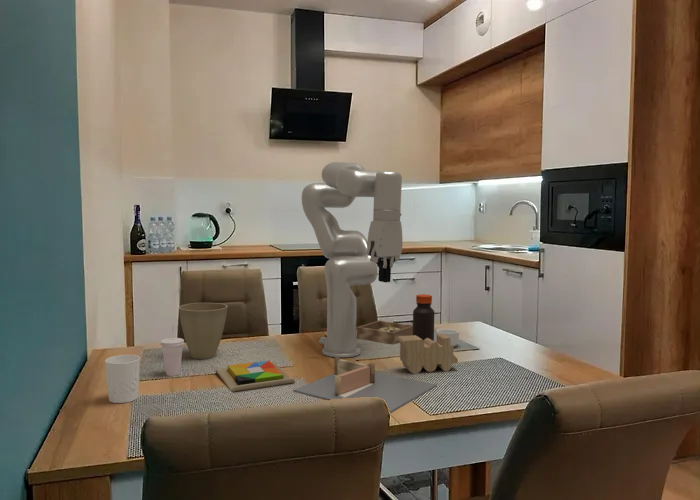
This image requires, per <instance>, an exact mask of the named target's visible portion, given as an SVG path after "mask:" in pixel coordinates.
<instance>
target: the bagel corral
mask: <svg viewBox="0 0 700 500" xmlns="http://www.w3.org/2000/svg"><path fill="white" fill-rule="evenodd" d="M389 325H391V327H392V328H393V327H394V328H399V329H400V330H397V331H395V332H388V331H382V330H378V329H379V328H387V327H388V326H389ZM399 336H413V324H406V323H400V322H392V321H386V320H381V319H380V320H376V321H373V322H369V323H367V324H366V323H365V324H363V325H359V326H356V339H360V340H365V341H371V342H372V341H373V342H378V343H384V344H389V345H396V344H398V343H399V342H398V340H397V337H399Z"/></svg>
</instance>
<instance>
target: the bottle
mask: <svg viewBox="0 0 700 500" xmlns="http://www.w3.org/2000/svg"><path fill="white" fill-rule="evenodd" d="M415 297H416V298H415V302H416V307H415V308H414V309H413V311H412V325H413V335H416V336H418V337H419V338H421V339H422V340H425V339H426V338H429V339H431V340H432V341H434V342H435V310H434V309H433V308H432V303H433V296H432V294H431V295H430V294H425V293H424V294H423V293H421V294H416V296H415Z"/></svg>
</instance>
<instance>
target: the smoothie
mask: <svg viewBox="0 0 700 500" xmlns="http://www.w3.org/2000/svg"><path fill="white" fill-rule="evenodd" d="M175 326H176V325H175V324H172V337H170V338H163V339H162V340H160V346H161V349H162V350H161V351H162V355H163V363H164V368H165V369H164V370H165V376H168V377H175V376H179V375H180V374H181V366H182V359H183V358H182V355H183V349H184V348H183V347H184V344H185V338H184V339H183V338H180V337H175V335H176V334H175Z"/></svg>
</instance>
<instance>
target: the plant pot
mask: <svg viewBox="0 0 700 500" xmlns="http://www.w3.org/2000/svg"><path fill="white" fill-rule="evenodd" d="M178 312H179V318H180V324H181V329H182V332H183V336H184V342H185V343H186V346H187V347H186V348H187V349H188V351H189V354H190V357H191V358H193V359H197V360H204V359H205V360H206V359H211V358H215V356H216V354H217V351H218V350H219V349H218V348H219V346H220V342H221V341H222V340H221V339H222V336H223V333H224V329H225V324H226V319H227V313H228V305H227V304H224V303H218V302H194V303H187V304H186V303H185V304H182V305H179V307H178Z"/></svg>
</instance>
